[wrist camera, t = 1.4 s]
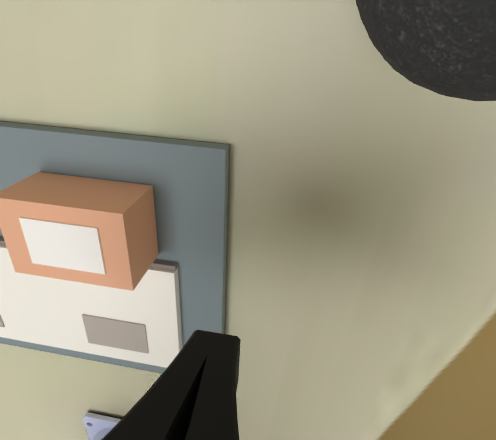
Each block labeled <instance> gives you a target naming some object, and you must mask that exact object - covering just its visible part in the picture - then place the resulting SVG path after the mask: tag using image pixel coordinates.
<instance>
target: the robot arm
mask: <svg viewBox="0 0 496 440" xmlns="http://www.w3.org/2000/svg"><path fill="white" fill-rule="evenodd" d="M239 356H240V339H239V338H238V337H237V336H233V335H227V334H221V333H215V332H209V331H203V330H196V331H194V332H193V334H192V335H191V337H190V338H189V340H188V341H187V342H186V344H185V345H184V347H183V348H182V349H181V351H180V352H179V353H178V355H177V356H176V357H175V358H174V360H173V361H172V362H171V364H170V365H169V366H168V367H167V369H166V370H165V371H164V372H163V373H162V375H161V376H160V377H159V378H158V379H157V380H156V382H155V383H154V384H153V385H152V386H151V388H150V389H149V390H148V391H147V392H146V393H145V395H144V396H143V397H142V398H141V399H140V400H139V401H138V402H137V403H136V404H135V405H134V406H133V407H132V409H131V410H130V411H129V412H128V413H127V414H126V415H125V416H124V417H123V418H122V419H117V418H113V417H108V416H103V415H98V414H93V413H86V414H85V415H84V417H83V420H84V424H85V427H86V430H87V434H88V437H89V440H239V432H238V421H237V405H236V389H237V383H238V373H239Z"/></svg>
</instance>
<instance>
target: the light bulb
mask: <svg viewBox="0 0 496 440" xmlns="http://www.w3.org/2000/svg"><path fill="white" fill-rule="evenodd" d="M356 4H357V7H358V10H359V13H360V17H361V20H362V22H363V24H364V26H365V28H366V30H367V32H368V35H369V38H370V39H371V41H372V43H373V45H374V46H375V47H376V49H377V50H378V51H379V52H380V53H381V55H382V56H383V58H384V59H385V60H386V61H387V62H388V63H389V64H390V65H391V66H392V68H393V69H394V70H396V71H397V72H399V73H400V74H401V75H403V76H404V77H405V78H407V79H408V80H409V81H411V82H413V83H414V84H417V85H419V86H422V87H424V88H426V89H429V90H431V91H434V92H436V93H438V94H441V95H445V96H450V97H455V98H461V99H467V100H473V101H496V0H356Z"/></svg>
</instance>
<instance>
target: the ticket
mask: <svg viewBox="0 0 496 440" xmlns="http://www.w3.org/2000/svg"><path fill="white" fill-rule="evenodd" d="M0 337H3V338H9V339H14V340H19V341H25V342H30V343H35V344H41V345H46V346H52V347H57V348H62V349H68V350H73V351H79V352H84V353H89V354H95V355H100V356H106V357H111V358H116V359H122V360H127V361H133V362H138V363H143V364H149V365H154V366H160V367H165V368H167V367H168V366H169V365H170V364H171V362H172V361H173V360H174V358H175V357H176V356H177V355H178V353H179V352H180V351H181V349H182V330H181V312H180V295H179V277H178V262H173V261H166V260H159V259H155V261H154V262H153V263H152V265H151V266H150V268H149V269H148V271H147V272H146V273H145V275H144V276H143V278H142V279H141V281H140V282H139V283H138V285H137V286H136V288H135V289H134V291H131V290H125V289H118V288H112V287H106V286H99V285H93V284H87V283H81V282H74V281H68V280H62V279H55V278H49V277H43V276H37V275H30V274H24V273H18V272H15V270H14V267H13V264H12V261H11V258H10V255H9V252H8V249H7V246H6V243H5V240H4V237H2V236H0Z"/></svg>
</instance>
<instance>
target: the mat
mask: <svg viewBox="0 0 496 440" xmlns="http://www.w3.org/2000/svg"><path fill="white" fill-rule="evenodd" d="M37 172H44V173H52V174H60V175H69V176H77V177H86V178H94V179H102V180H111V181H119V182H127V183H136V184H144V185H153V196H154V207H155V218H156V230H157V241H158V252H159V255H158V256H157V258H156V259H159V260H166V261H173V262H178V277H179V295H180V312H181V330H182V348H183V347H184V345H185V344H186V342H187V341H188V340H189V338H190V337H191V335H192V334H193V332H194V331H196V330H203V331H209V332H215V333H221V334H224V330H225V291H226V253H227V215H228V177H229V144H220V143H210V142H200V141H190V140H180V139H170V138H161V137H151V136H141V135H131V134H121V133H111V132H101V131H92V130H82V129H72V128H62V127H52V126H42V125H32V124H23V123H13V122H3V121H0V191H2V190H4V189H6V188H8V187H10V186H12V185H13V184H15V183H17V182H19V181H21V180H23V179H25V178H27V177H29V176H31V175H33V174H35V173H37ZM0 236H2V237H3V235H2V232H1V229H0ZM0 343H2V344H8V345H13V346H18V347H24V348H29V349H34V350H40V351H45V352H50V353H56V354H61V355H66V356H72V357H77V358H82V359H88V360H93V361H98V362H104V363H109V364H114V365H120V366H125V367H130V368H136V369H141V370H146V371H151V372H157V373H163V372H164V371H165V370H166V369H167V368H165V367H160V366H154V365H149V364H143V363H138V362H133V361H127V360H122V359H116V358H111V357H106V356H100V355H95V354H89V353H84V352H79V351H73V350H68V349H62V348H57V347H52V346H46V345H41V344H35V343H30V342H25V341H19V340H14V339H9V338H3V337H0Z"/></svg>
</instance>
